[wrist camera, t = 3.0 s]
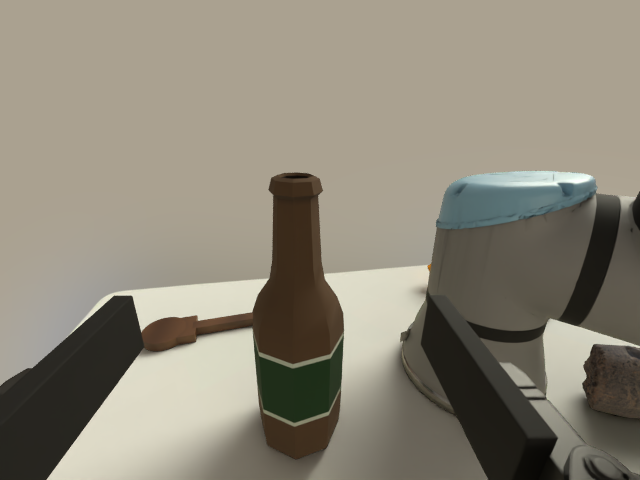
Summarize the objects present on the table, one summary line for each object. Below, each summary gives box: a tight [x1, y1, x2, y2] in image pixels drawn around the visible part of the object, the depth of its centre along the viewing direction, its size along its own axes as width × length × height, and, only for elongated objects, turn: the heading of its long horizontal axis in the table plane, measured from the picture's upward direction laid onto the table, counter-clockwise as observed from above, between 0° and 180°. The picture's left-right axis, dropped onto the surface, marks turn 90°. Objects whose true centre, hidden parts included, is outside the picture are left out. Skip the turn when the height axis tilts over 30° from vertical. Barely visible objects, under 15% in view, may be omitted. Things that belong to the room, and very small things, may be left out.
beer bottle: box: [253, 173, 344, 459], centre depth 25 cm, size 8×8×24 cm
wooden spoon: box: [141, 312, 253, 351], centre depth 43 cm, size 20×6×1 cm, turn 107°
